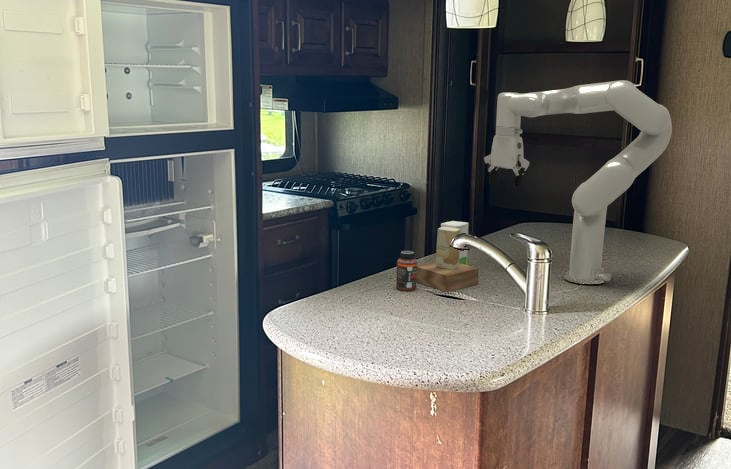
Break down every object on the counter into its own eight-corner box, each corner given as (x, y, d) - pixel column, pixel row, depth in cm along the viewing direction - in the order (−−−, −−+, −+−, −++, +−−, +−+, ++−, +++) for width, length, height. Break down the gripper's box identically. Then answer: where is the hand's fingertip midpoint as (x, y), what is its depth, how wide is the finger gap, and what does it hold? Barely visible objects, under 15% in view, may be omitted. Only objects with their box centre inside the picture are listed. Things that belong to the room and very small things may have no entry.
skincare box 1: (434, 267, 220) (436, 228, 218) (440, 264, 224) (441, 226, 222) (454, 270, 217) (456, 230, 215) (459, 267, 221) (461, 228, 219)
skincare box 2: (454, 273, 233) (457, 226, 230) (437, 269, 237) (439, 223, 234) (467, 268, 240) (469, 222, 236) (450, 264, 244) (452, 219, 240)
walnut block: (477, 283, 221) (478, 268, 220) (446, 292, 212) (447, 275, 211) (444, 274, 232) (445, 259, 231) (413, 281, 223) (414, 266, 222)
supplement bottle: (414, 292, 212) (415, 255, 209) (394, 290, 213) (395, 253, 211) (417, 286, 218) (418, 250, 215) (397, 285, 219) (398, 249, 216)
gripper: (537, 133, 223) (534, 188, 227) (494, 130, 236) (491, 181, 240) (522, 134, 218) (519, 190, 222) (479, 130, 231) (476, 183, 235)
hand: (504, 185), depth 231 cm, fingers open, 9 cm apart
